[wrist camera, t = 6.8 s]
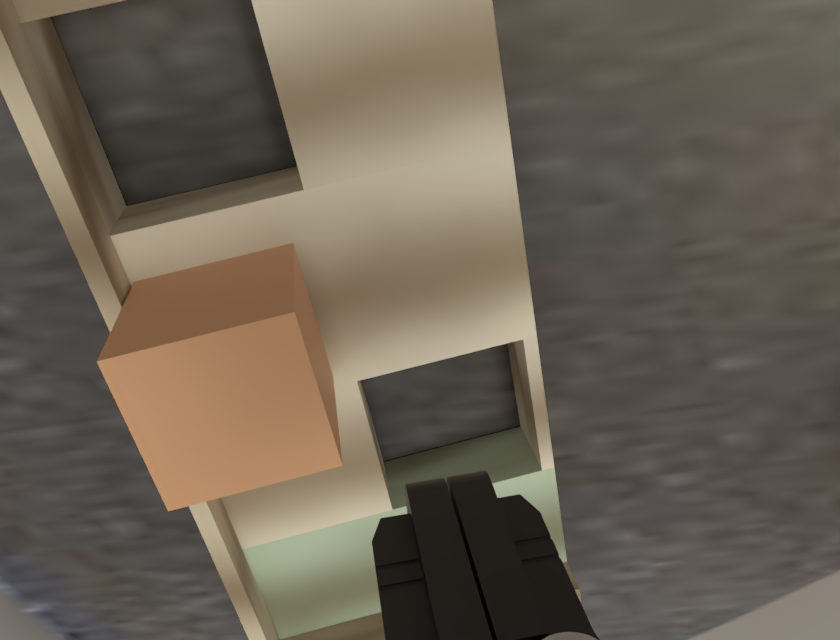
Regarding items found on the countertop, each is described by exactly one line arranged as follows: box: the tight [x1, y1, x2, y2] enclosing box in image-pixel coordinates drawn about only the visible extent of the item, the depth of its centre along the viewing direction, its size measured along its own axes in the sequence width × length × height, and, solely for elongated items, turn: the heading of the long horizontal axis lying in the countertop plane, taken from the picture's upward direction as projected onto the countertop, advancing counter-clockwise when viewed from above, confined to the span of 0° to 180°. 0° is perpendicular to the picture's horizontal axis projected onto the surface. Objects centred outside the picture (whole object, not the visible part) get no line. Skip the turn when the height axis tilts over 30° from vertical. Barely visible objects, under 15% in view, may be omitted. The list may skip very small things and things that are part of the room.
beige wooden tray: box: [0, 0, 581, 640], centre depth 25 cm, size 27×13×4 cm, turn 11°
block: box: [97, 243, 343, 511], centre depth 21 cm, size 5×5×5 cm
